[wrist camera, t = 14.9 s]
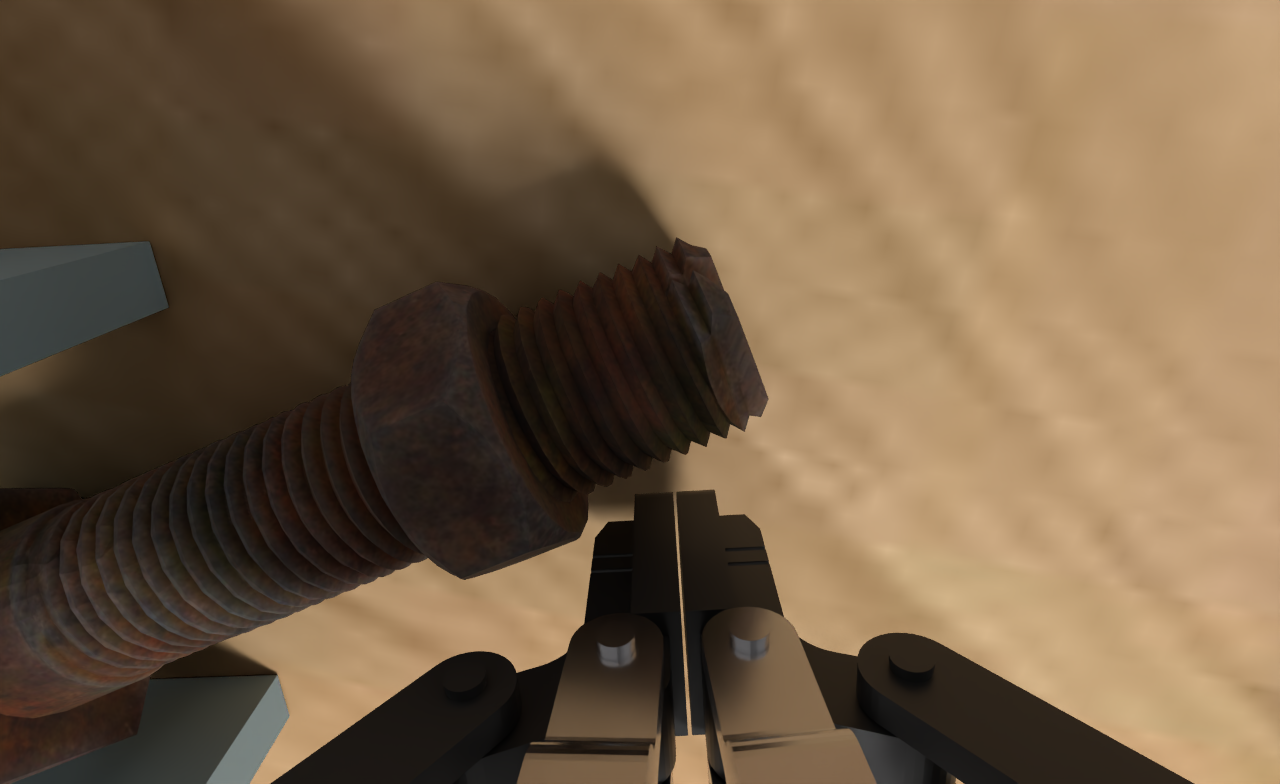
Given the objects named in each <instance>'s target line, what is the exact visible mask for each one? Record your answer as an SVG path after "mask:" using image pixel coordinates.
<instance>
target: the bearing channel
mask: <svg viewBox="0 0 1280 784" xmlns="http://www.w3.org/2000/svg"><path fill="white" fill-rule="evenodd" d="M166 308H169V306H168V302H167V299H166V296H165V292H164V289H163V286H162V282H161V279H160V275H159V272H158V269H157V265H156V262H155V258H154V255H153V252H152V248H151V245H150V241H145V242H126V243H106V244H87V245H68V246H49V247H30V248H11V249H0V376H3V375H5V374H8V373H10V372H12V371H15V370H17V369H20V368H22V367H25V366H27V365H29V364H32V363H34V362H37V361H39V360H42V359H44V358H47V357H49V356H51V355H54V354H56V353H59V352H61V351H64V350H66V349H69V348H71V347H73V346H76V345H78V344H81V343H83V342H86V341H88V340H90V339H93V338H95V337H98V336H100V335H103V334H105V333H108V332H110V331H112V330H115V329H117V328H120V327H122V326H125V325H127V324H130V323H132V322H134V321H137V320H139V319H142V318H144V317H147V316H149V315H151V314H154V313H156V312H159V311H161V310H164V309H166ZM288 718H289V712H288V709H287V706H286V702H285V699H284V696H283V692H282V689H281V685H280V682H279V679H278V675H264V676H235V677H206V678H177V679H150V680H149V685H148V689H147V694H146V698H145V702H144V707H143V711H142V716H141V720H140V725H139V729H138V733H137V735H134V736H132V737H129V738H127V739H124V740H122V741H119V742H116V743H114V744H111V745H109V746H106V747H104V748H101V749H99V750H96V751H93V752H91V753H88V754H86V755H83V756H81V757H78V758H76V759H73V760H70V761H68V762H65V763H63V764H60V765H58V766H55V767H53V768H50V769H47V770H45V771H42V772H40V773H37V774H34V775H32V776H29V777H26V778H24V779H21V780H19V781H16V782H13V783H11V784H250V782H251V780H252V779H253V777H254V775H255V774H256V772H257V770H258V768H259V767H260V765H261V763H262V762H263V760H264V758H265V757H266V755H267V753H268V752H269V750H270V748H271V747H272V745H273V743H274V741H275V740H276V738H277V736H278V735H279V733H280V731H281V730H282V728H283V726H284V725H285V723H286V721H287V720H288Z"/></svg>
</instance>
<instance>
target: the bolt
mask: <svg viewBox="0 0 1280 784" xmlns="http://www.w3.org/2000/svg"><path fill="white" fill-rule="evenodd" d="M767 401H768V396H767V394H766V391H765V388H764V385H763V383H762V380H761V377H760V374H759V372H758V369H757V366H756V363H755V361H754V358H753V355H752V353H751V350H750V347H749V345H748V342H747V340H746V337H745V334H744V332H743V329H742V326H741V324H740V321H739V318H738V316H737V314H736V311H735V309H734V307H733V304H732V302H731V299H730V297H729V295H728V293H726V292H725V291H724V289H723V286H722V284H721V281H720V279H719V276H718V273H717V271H716V268H715V265H714V263H713V260H712V258H711V256H710V254H709V252H708V251H707V249H706V248H701V247H697V246H692V245H690V244H688V243H686V242H684V241H682V240H680V239H679V238H677V237H676V240H675V244H674V247H673V251H672V254H670V253H668V252H667V251H665V250H663V249H661V248H659V247H657V246H656V250H655V253H654V257H653V260H652V263H651V262H649V261H648V260H646V259H645V258H643V257H641V256H640V255H639V256H638V258H637V260H636V263H635V265H634V268H633V270H632V271H630V270H628V269H627V268H625V267H623V266H622V265H620V264H618V266H617V269H616V272H615V275H614V278H613V280H612V279H610V278H609V277H607V276H605V275H604V274H602V273H599V275H598V277H597V280H596V282H595V284H594V286H593V288H591V287H590V286H588V285H587V284H585V283H583V282H582V281H580V282H579V284H578V286H577V289H576V291H575V293H574V296H572V295H570V294H569V293H567V292H565V291H562V290H559V291H558V294H557V297H556V300H555V303H554V304H553V303H551V302H549V301H548V300H546V299H544V298H543V297H542V298H541V299H540V301H539V302H538V304H537V307H536V311H535V312H534V311H533V310H531V309H530V308H528V307H520V309H519V312H518V316H517V319H515V318H514V317H513V315H512V314H511V313H510V312H509V310H508V309H507V308H506V307H505V306H504V305H503V304H502V303H501V302H500V301H499V300H498V299H497V298H495V297H493V296H492V295H490V294H488V293H486V292H484V291H482V290H480V289H476V288H473V287H470V286H464V285H457V284H450V283H443V282H435V283H432V284H430V285H428V286H426V287H424V288H421V289H419V290H417V291H415V292H413V293H410V294H408V295H406V296H404V297H402V298H400V299H397V300H395V301H393V302H391V303H389V304H386V305H384V306H382V307H380V308H378V309H375V310H374V312H373V314H372V317H371V319H370V321H369V323H368V325H367V328H366V330H365V332H364V334H363V336H362V339H361V341H360V343H359V346H358V349H357V352H356V355H355V358H354V361H353V367H352V374H351V383H350V384H349V385H348V386H342V387H338V388H336V389H334V390H333V391H331V393H330V394H324V395H320V396H318V397H316V398H315V399H313V400H312V402H306V403H302V404H300V405H298V406H297V407H296V408H295V409H294V410H291V411H286V412H282V413H281V414H279V415H278V416H277V417H272V418H270V419H269V420H267V421H265V422H263V423H261V424H256V425H254V426H252V427H251V428H249V429H247V430H245V431H243V432H237V433H235V434H232V435H231V436H229V437H228V438H226V439H223V440H219V441H216V442H214V443H212V444H210V445H209V446H208V447H205V448H202V449H200V450H197V451H195V452H194V453H190V454H187V455H185V456H183V457H181V458H178V459H177V461H174V462H170V463H167V464H165V465H162V466H161V467H160V468H156V469H153V470H151V471H148V472H146V473H144V474H143V475H140V476H137V477H135V478H133V479H130V480H128V481H126V482H124V483H122V484H120V485H119V486H117V487H115V488H113V489H108V490H106V491H104V492H101V493H99V494H96V495H94V496H93V497H91V498H88V499H82V498H81V497H80V496H79V495H78V493H77V492H76V491H75V490H74V489H72V488H0V784H11V783H13V782H16V781H19V780H21V779H24V778H26V777H29V776H32V775H34V774H37V773H40V772H42V771H45V770H47V769H50V768H53V767H55V766H58V765H60V764H63V763H65V762H68V761H70V760H73V759H76V758H78V757H81V756H83V755H86V754H88V753H91V752H93V751H96V750H99V749H101V748H104V747H106V746H109V745H111V744H114V743H116V742H119V741H122V740H124V739H127V738H129V737H132V736H134V735H137V733H138V729H139V725H140V720H141V716H142V711H143V707H144V702H145V698H146V694H147V689H148V685H149V680H150V676H151V674H153V673H154V672H156V671H157V670H159V669H160V668H161V667H162V666H163V665H164V664H167V663H170V662H173V661H175V660H177V659H178V658H182V657H185V656H188V655H190V654H192V653H193V652H196V651H200V650H203V649H205V648H207V647H208V646H210V645H213V644H216V643H218V642H221V641H223V640H226V639H228V638H231V637H234V636H237V635H240V634H242V633H246V632H249V631H251V630H253V629H255V628H257V627H260V626H263V625H267V624H270V623H272V622H274V621H276V620H277V619H281V618H284V617H288V616H289V615H291V614H293V613H294V612H299V611H301V610H303V609H305V608H307V607H309V606H311V605H316V604H319V603H320V602H322V601H323V600H324V599H328V598H333V597H335V596H337V595H339V594H341V593H343V592H347V591H350V590H353V589H355V588H357V587H358V586H360V585H361V584H367V583H370V582H372V581H375V580H376V579H377V578H378V577H384V576H386V575H389V574H391V573H393V572H394V571H395V570H401V569H403V568H406V567H408V566H409V565H410V564H411V563H417V562H421V561H423V560H425V559H427V558H429V559H430V560H431V561H432V562H434V563H435V564H436V565H437V566H439V567H440V568H442V569H444V570H445V571H447V572H449V573H450V574H452V575H455V576H457V577H459V578H460V579H463V580H466V579H469V578H473V577H477V576H480V575H483V574H487V573H490V572H493V571H496V570H499V569H502V568H505V567H507V566H510V565H513V564H516V563H519V562H521V561H524V560H526V559H529V558H532V557H534V556H537V555H539V554H542V553H544V552H547V551H549V550H552V549H555V548H557V547H560V546H562V545H565V544H567V543H570V542H572V541H575V540H577V539H578V538H580V536H581V534H582V532H583V529H584V527H585V525H586V523H587V520H588V494H589V493H591V492H593V491H594V488H595V484H599V485H602V486H606V487H607V486H609V485H611V484H612V482H613V478H614V475H617V476H619V477H622V478H625V479H627V478H628V477H630V476H631V474H632V469H633V466H636V467H638V468H640V469H642V470H645V471H646V470H648V469H650V465H651V461H652V458H654V459H657V460H659V461H661V462H663V463H664V462H667V461H669V458H670V454H671V449H673V450H675V451H678V452H680V453H682V454H685V455H686V454H687V453H688V451H689V447H690V443H691V441H693V442H695V443H698V444H700V445H703V446H705V447H707V443H708V439H709V436H710V432H711V433H713V434H716V435H718V436H721V437H723V438H727V435H728V430H729V426H730V424H731V425H733V426H735V427H737V428H739V429H741V430H742V431H744V432H745V429H746V425H747V422H748V419H749V415H750V416H758V417H761V416H762V413H763V411H764V409H765V406H766V404H767Z"/></svg>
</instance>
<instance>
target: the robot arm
mask: <svg viewBox="0 0 1280 784" xmlns="http://www.w3.org/2000/svg"><path fill="white" fill-rule="evenodd" d="M676 496H677V514H678V532H679V550H680V567H681V584H682V599H683V613H684V627H685V641H686V655H687V669H688V683H689V697H690V711H691V725H692V735H703V734H705V735H706V746H707V759H708V779H709V784H956V783H955V782H956V778H957V779H958V780H960V781H961V782H963V783H964V784H1194V783H1192V782H1190V781H1188V780H1187V779H1185V778H1183V777H1181V776H1179V775H1178V774H1176V773H1174V772H1172V771H1170V770H1168V769H1167V768H1165V767H1163V766H1161V765H1159V764H1158V763H1156V762H1154V761H1152V760H1150V759H1149V758H1147V757H1145V756H1143V755H1141V754H1139V753H1138V752H1136V751H1134V750H1132V749H1130V748H1129V747H1127V746H1125V745H1123V744H1121V743H1119V742H1118V741H1116V740H1114V739H1112V738H1110V737H1109V736H1107V735H1105V734H1103V733H1101V732H1100V731H1098V730H1096V729H1094V728H1092V727H1090V726H1089V725H1087V724H1085V723H1083V722H1081V721H1080V720H1078V719H1076V718H1074V717H1072V716H1071V715H1069V714H1067V713H1065V712H1063V711H1061V710H1060V709H1058V708H1056V707H1054V706H1052V705H1051V704H1049V703H1047V702H1045V701H1043V700H1041V699H1040V698H1038V697H1036V696H1034V695H1032V694H1031V693H1029V692H1027V691H1025V690H1023V689H1022V688H1020V687H1018V686H1016V685H1014V684H1012V683H1011V682H1009V681H1007V680H1005V679H1003V678H1002V677H1000V676H998V675H996V674H994V673H992V672H991V671H989V670H987V669H985V668H983V667H982V666H980V665H978V664H976V663H974V662H973V661H971V660H969V659H967V658H965V657H963V656H962V655H960V654H958V653H956V652H954V651H953V650H951V649H949V648H947V647H945V646H944V645H942V644H940V643H938V642H936V641H934V640H931V639H929V638H926V637H923V636H919V635H915V634H908V633H888V634H884V635H880V636H877V637H874V638H872V639H871V640H869V641H867V642H866V643H865V644H864V645H863V646H862V648H861V649H860V651H859V654H858V656H852V655H847V654H841V653H836V652H832V651H827V650H824V649H821V648H818V647H815V646H813V645H811V644H809V643H807V642H806V641H804V640H802V639H801V638H799V636H798V634H797V632H796V630H795V628H794V626H793V625H792V624H791V623H790V622H789V621H788V620H787V619H786V618H784V616H783V612H782V608H781V604H780V601H779V597H778V593H777V590H776V586H775V582H774V579H773V575H772V571H771V568H770V564H769V560H768V556H767V553H766V550H765V545H764V542H763V538H762V534H761V531H760V528H759V527H758V526H756V525H755V524H754V523H753V522H752V521H751V520H750V519H749V518H748V517H747V516H746V515H745V514H743V515H724V516H719V512H718V506H717V501H716V495H715V490H700V491H682V492H676ZM686 735H688V729H687V711H686V694H685V677H684V660H683V642H682V625H681V608H680V593H679V578H678V562H677V547H676V532H675V516H674V501H673V492H666V493H648V494H635V506H634V520H633V521H615V522H608V523H607V524H606V525H605V526H604V528H603V529H602V530H601V531H600V532H599V534H598V535H597V536H596V537H595V543H594V551H593V559H592V567H591V575H590V583H589V591H588V599H587V607H586V614H585V622H584V625H582V626H581V627H580V628H579V629H578V630H577V631H576V632H575V633H574V635H573V636H572V638H571V641H570V644H569V647H568V651H567V653H566V654H564V655H563V656H561V657H560V658H558V659H556V660H554V661H552V662H550V663H548V664H545V665H542V666H539V667H535V668H532V669H529V670H525V671H522V672H518V673H516V670H515V668H514V666H513V664H512V663H511V662H510V661H509V660H508V659H506V658H505V657H503V656H501V655H499V654H496V653H492V652H484V651H476V652H468V653H464V654H460V655H457V656H454V657H451V658H449V659H447V660H445V661H443V662H441V663H440V664H438V665H436V666H435V667H434V668H432V669H431V670H429V671H428V672H427V673H425V674H424V675H422V676H421V677H419V678H418V679H417V680H415V681H414V682H412V683H411V684H410V685H408V686H407V687H405V688H404V689H403V690H401V691H400V692H398V693H397V694H396V695H394V696H393V697H391V698H390V699H389V700H387V701H386V702H384V703H383V704H382V705H380V706H379V707H377V708H376V709H375V710H373V711H372V712H370V713H369V714H368V715H366V716H365V717H363V718H362V719H361V720H359V721H358V722H356V723H355V724H354V725H352V726H351V727H349V728H348V729H347V730H345V731H344V732H342V733H341V734H340V735H338V736H337V737H335V738H334V739H333V740H331V741H330V742H328V743H327V744H326V745H324V746H323V747H321V748H320V749H318V750H317V751H316V752H314V753H313V754H311V755H310V756H309V757H307V758H306V759H304V760H303V761H302V762H300V763H299V764H297V765H296V766H295V767H293V768H292V769H290V770H289V771H288V772H286V773H285V774H283V775H282V776H281V777H279V778H278V779H276V780H275V781H274V782H272V783H271V784H673V768H674V765H675V761H676V745H675V736H686Z"/></svg>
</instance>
